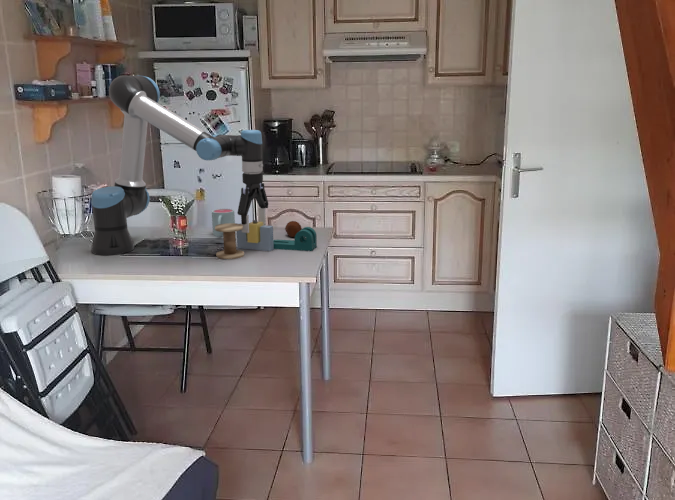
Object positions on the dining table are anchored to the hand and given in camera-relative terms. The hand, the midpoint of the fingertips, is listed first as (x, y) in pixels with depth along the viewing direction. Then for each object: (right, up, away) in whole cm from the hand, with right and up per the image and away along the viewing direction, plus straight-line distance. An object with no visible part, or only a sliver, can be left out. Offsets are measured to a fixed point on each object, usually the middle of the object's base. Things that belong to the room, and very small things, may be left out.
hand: (254, 228), depth 237 cm
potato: (+13, -2, +22) cm, 26 cm away
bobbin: (-8, -10, -8) cm, 15 cm away
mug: (-16, -2, +23) cm, 28 cm away
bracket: (+14, -8, +3) cm, 16 cm away
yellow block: (+1, -5, +1) cm, 5 cm away
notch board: (0, -8, +2) cm, 8 cm away
